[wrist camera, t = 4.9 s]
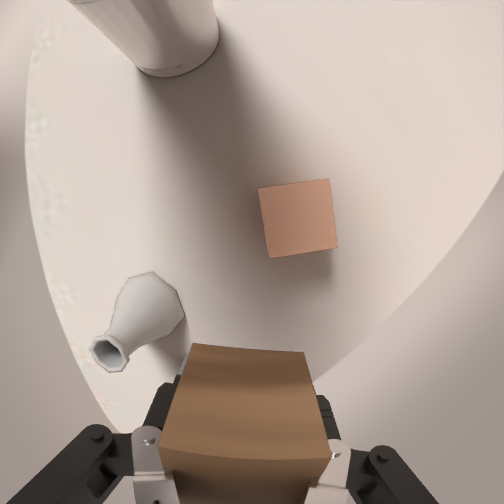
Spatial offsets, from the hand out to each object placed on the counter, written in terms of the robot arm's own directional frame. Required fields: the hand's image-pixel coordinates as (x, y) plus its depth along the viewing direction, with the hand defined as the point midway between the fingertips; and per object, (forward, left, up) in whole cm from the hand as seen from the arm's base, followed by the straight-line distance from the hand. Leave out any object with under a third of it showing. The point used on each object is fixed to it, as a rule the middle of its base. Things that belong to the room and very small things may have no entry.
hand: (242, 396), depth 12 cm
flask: (+3, -10, -15) cm, 18 cm away
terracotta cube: (-8, +3, -15) cm, 17 cm away
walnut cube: (0, 0, -1) cm, 1 cm away
